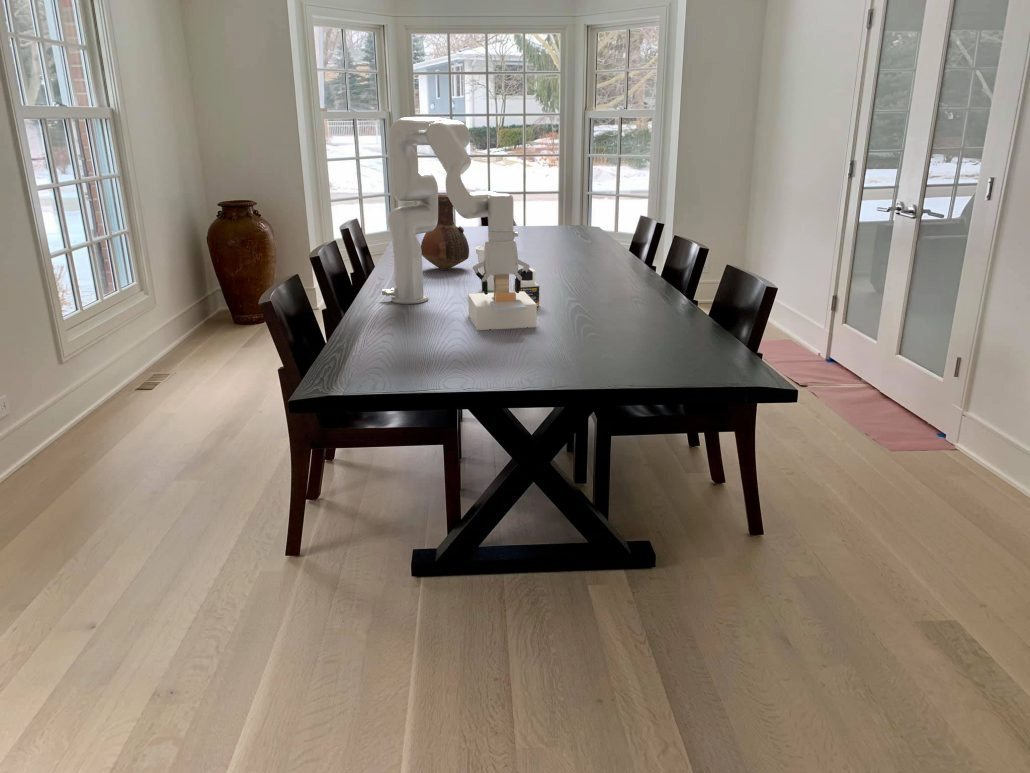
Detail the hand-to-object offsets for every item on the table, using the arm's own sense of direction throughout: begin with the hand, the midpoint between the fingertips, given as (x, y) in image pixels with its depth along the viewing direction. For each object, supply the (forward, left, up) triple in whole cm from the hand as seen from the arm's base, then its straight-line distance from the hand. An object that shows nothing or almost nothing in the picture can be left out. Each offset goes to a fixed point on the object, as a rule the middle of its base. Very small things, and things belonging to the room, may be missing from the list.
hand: (501, 293), depth 229 cm
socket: (0, 0, -9) cm, 9 cm away
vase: (-8, +87, -9) cm, 88 cm away
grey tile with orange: (0, -11, -2) cm, 11 cm away
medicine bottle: (+12, +20, -9) cm, 25 cm away
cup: (+5, +45, -9) cm, 46 cm away
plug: (0, 0, -6) cm, 6 cm away
